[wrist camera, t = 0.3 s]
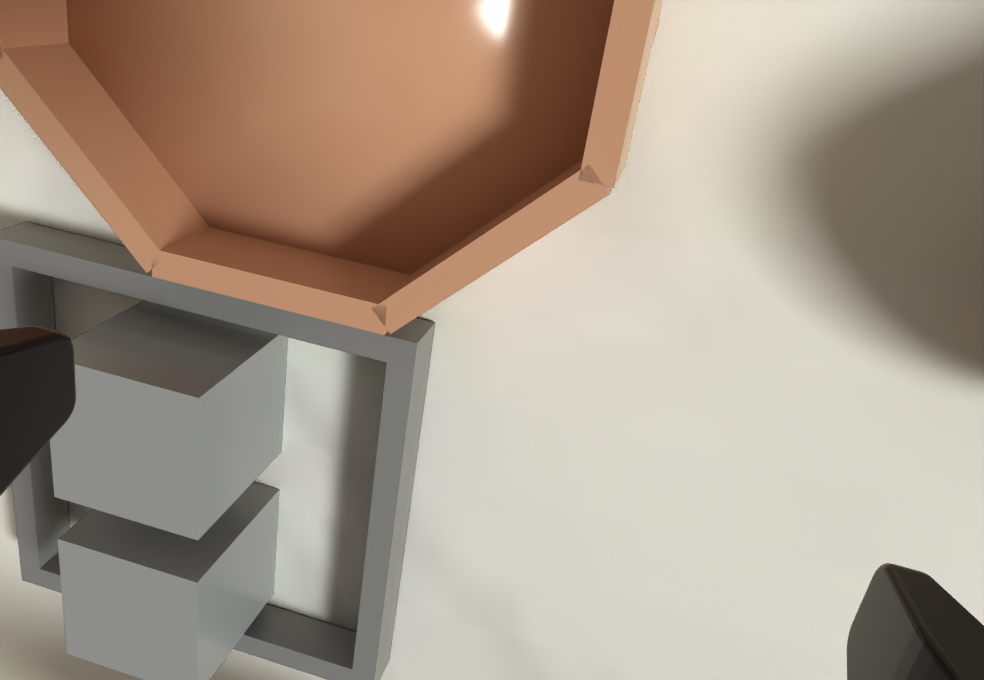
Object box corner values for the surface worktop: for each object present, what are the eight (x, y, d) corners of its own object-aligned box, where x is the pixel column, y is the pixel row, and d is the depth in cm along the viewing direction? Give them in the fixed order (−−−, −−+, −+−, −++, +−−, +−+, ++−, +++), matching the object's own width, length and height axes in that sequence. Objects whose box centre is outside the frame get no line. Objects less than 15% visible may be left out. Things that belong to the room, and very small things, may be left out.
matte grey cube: (282, 450, 28) (198, 540, 23) (159, 415, 28) (54, 496, 24) (289, 326, 26) (198, 398, 21) (157, 292, 26) (43, 355, 22)
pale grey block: (274, 592, 30) (196, 697, 26) (161, 557, 31) (66, 653, 26) (280, 488, 28) (197, 582, 24) (160, 453, 29) (57, 538, 24)
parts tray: (389, 660, 30) (372, 694, 28) (53, 553, 32) (22, 580, 31) (435, 322, 24) (417, 343, 23) (25, 221, 27) (-15, 235, 25)
